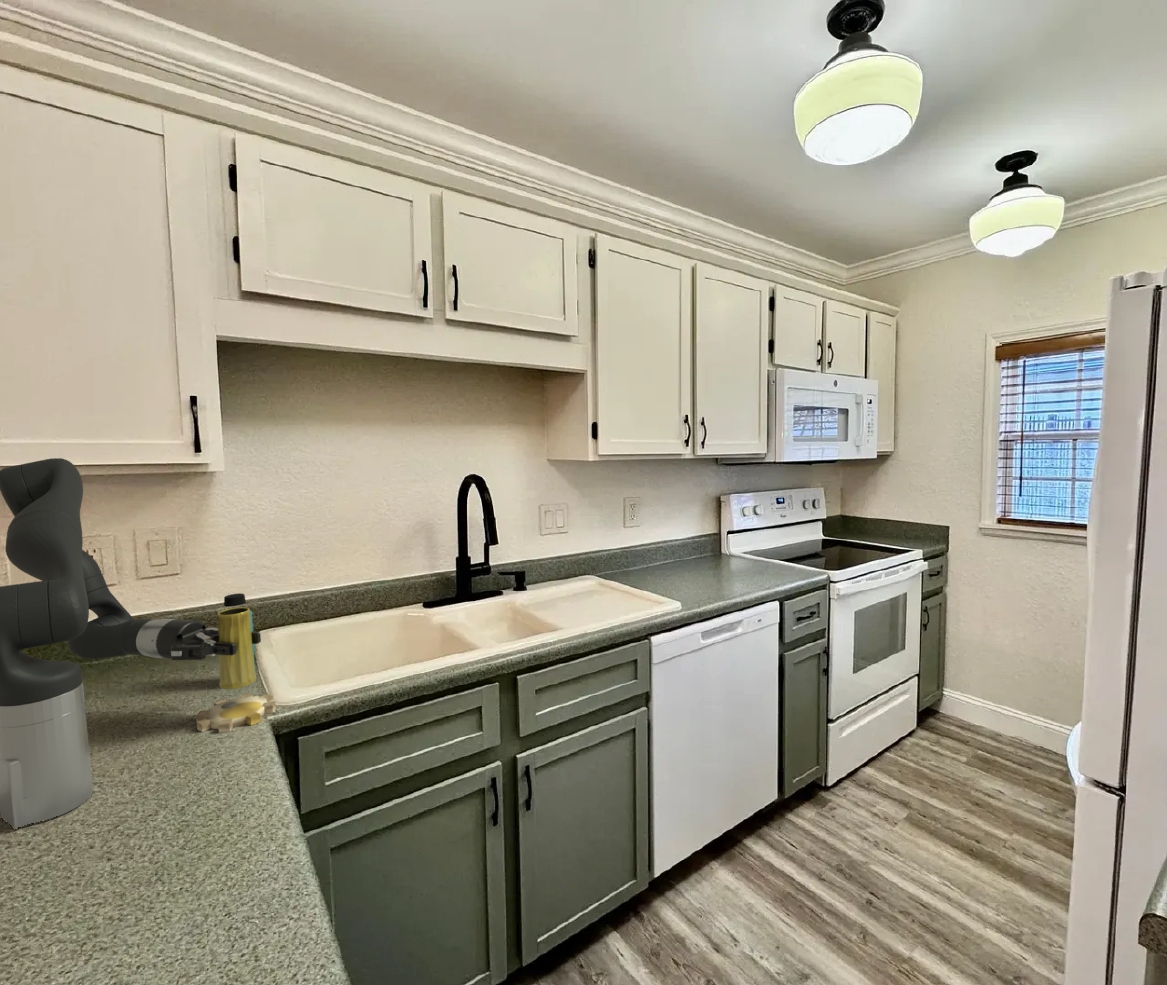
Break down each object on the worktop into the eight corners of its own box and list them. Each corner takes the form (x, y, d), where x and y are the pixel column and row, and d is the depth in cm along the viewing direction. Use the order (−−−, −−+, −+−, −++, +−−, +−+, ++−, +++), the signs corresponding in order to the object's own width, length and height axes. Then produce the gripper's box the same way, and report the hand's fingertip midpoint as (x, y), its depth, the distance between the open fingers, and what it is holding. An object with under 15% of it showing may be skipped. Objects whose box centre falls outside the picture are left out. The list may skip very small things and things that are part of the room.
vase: (264, 678, 109) (259, 607, 107) (237, 691, 103) (232, 617, 101) (239, 674, 110) (234, 605, 109) (211, 687, 104) (206, 614, 103)
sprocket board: (218, 739, 99) (218, 731, 98) (182, 722, 105) (181, 715, 105) (289, 708, 110) (289, 701, 110) (252, 695, 117) (252, 688, 116)
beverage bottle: (242, 688, 120) (235, 599, 119) (216, 686, 121) (209, 598, 120) (264, 676, 126) (258, 591, 125) (240, 674, 128) (234, 590, 126)
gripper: (135, 632, 101) (215, 637, 98) (202, 609, 115) (273, 613, 112) (138, 672, 102) (217, 678, 99) (204, 644, 116) (275, 648, 113)
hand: (247, 643), depth 105 cm, fingers closed on vase, 5 cm apart
